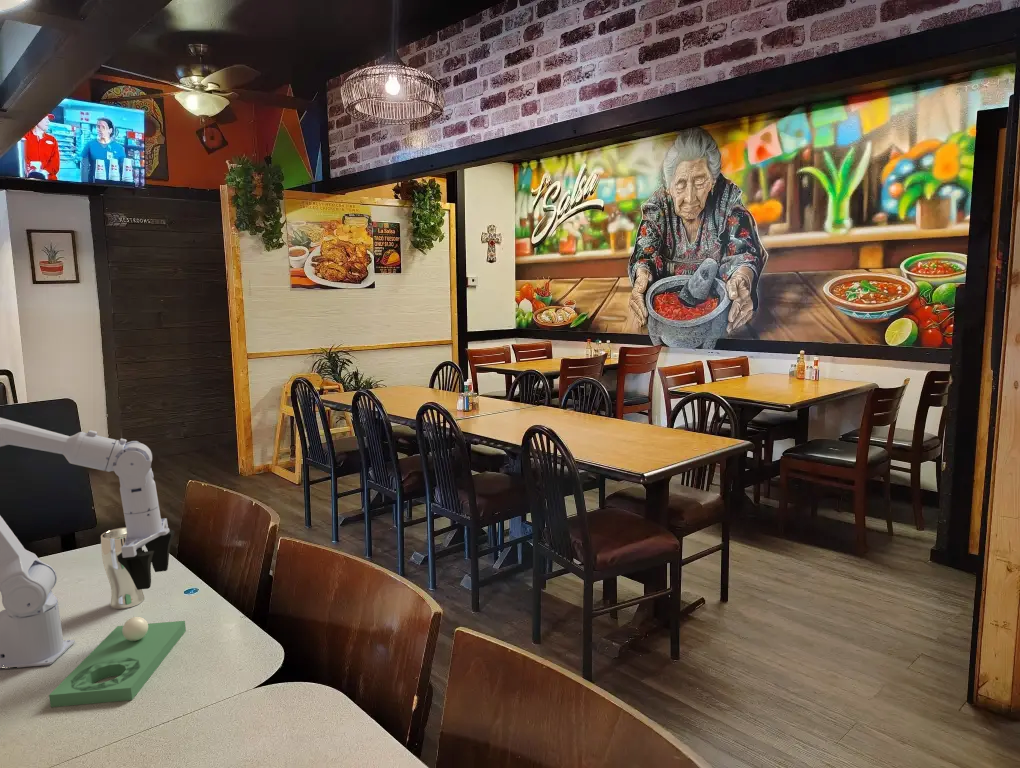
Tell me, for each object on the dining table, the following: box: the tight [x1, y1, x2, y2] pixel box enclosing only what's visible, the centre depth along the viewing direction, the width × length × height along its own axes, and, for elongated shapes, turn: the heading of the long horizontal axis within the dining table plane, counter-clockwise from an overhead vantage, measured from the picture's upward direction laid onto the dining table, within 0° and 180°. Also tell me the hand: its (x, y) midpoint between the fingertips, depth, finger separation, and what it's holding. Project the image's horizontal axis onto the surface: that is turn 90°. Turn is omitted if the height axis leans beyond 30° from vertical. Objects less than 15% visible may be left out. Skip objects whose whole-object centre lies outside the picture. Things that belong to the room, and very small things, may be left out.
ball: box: [122, 616, 149, 641], centre depth 121 cm, size 4×4×4 cm
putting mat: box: [48, 620, 187, 708], centre depth 116 cm, size 12×22×2 cm, turn 5°
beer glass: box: [100, 526, 145, 610], centre depth 140 cm, size 7×7×15 cm
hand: (152, 579), depth 127 cm, fingers open, 7 cm apart
